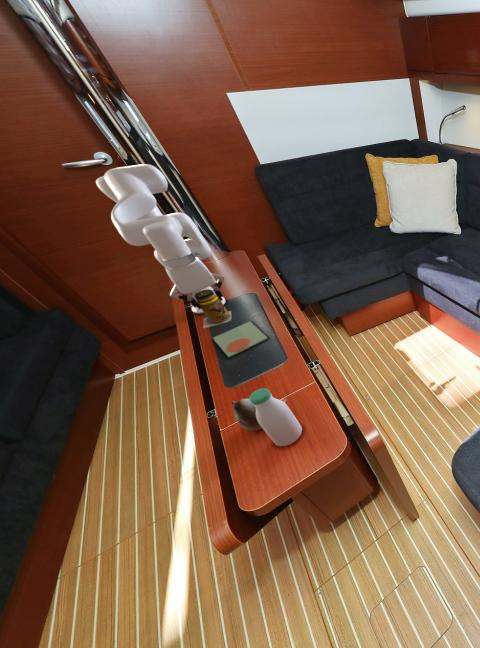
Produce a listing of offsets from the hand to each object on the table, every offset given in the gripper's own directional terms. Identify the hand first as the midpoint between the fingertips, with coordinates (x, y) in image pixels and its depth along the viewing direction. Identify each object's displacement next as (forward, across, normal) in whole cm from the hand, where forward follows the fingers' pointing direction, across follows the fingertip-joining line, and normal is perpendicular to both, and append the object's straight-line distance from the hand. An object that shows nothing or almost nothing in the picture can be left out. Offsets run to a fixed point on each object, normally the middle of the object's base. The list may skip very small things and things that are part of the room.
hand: (209, 303), depth 119 cm
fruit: (+22, +9, +46) cm, 51 cm away
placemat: (+22, -2, -4) cm, 22 cm away
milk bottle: (+22, +6, +58) cm, 62 cm away
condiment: (+7, +1, 0) cm, 8 cm away
